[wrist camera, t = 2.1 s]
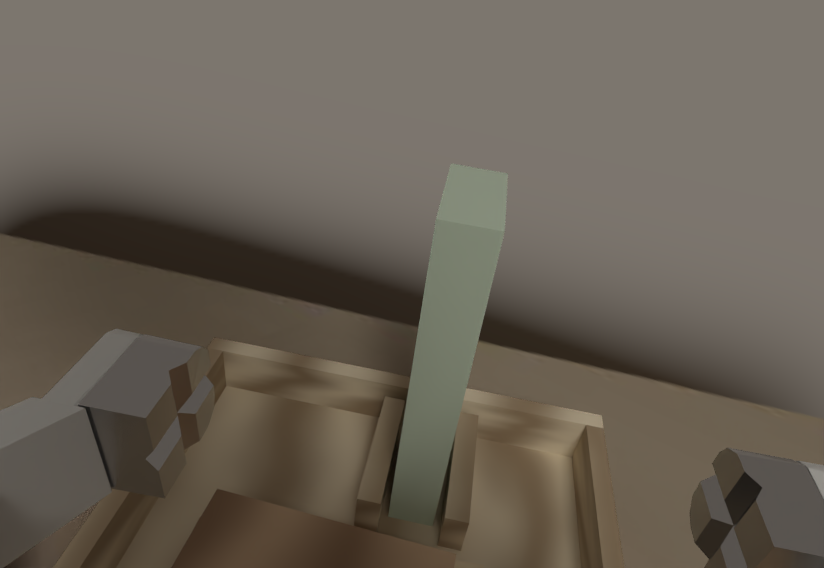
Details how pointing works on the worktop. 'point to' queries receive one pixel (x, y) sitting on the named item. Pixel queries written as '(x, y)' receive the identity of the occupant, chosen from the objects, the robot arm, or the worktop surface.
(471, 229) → the sage green plank
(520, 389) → the worktop surface
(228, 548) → the offcut stack
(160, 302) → the worktop surface
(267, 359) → the beige wooden tray
